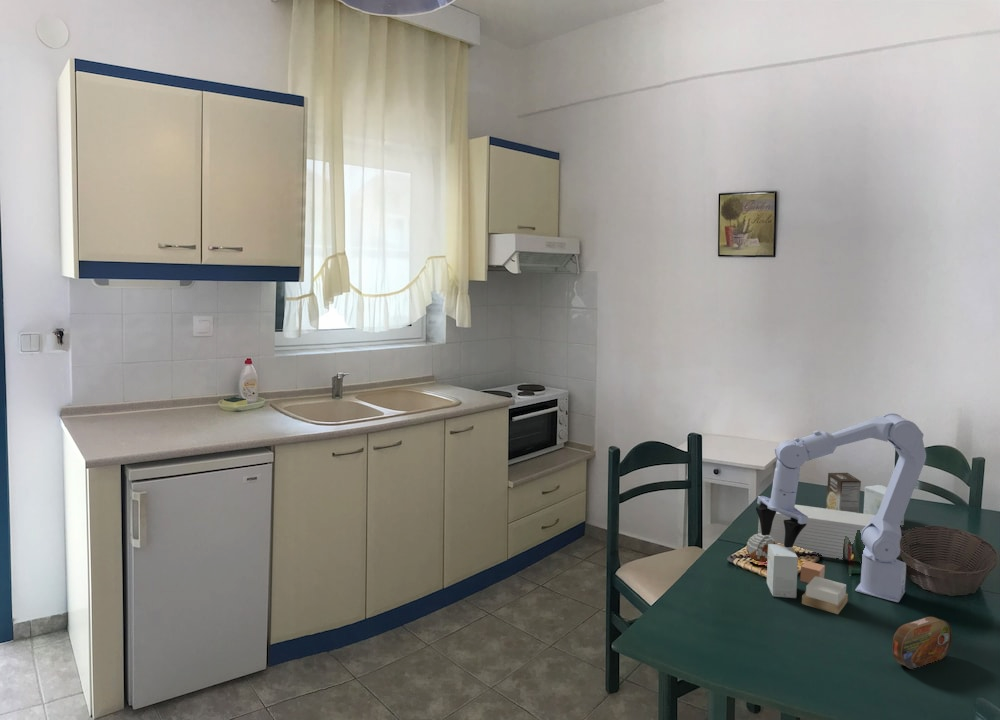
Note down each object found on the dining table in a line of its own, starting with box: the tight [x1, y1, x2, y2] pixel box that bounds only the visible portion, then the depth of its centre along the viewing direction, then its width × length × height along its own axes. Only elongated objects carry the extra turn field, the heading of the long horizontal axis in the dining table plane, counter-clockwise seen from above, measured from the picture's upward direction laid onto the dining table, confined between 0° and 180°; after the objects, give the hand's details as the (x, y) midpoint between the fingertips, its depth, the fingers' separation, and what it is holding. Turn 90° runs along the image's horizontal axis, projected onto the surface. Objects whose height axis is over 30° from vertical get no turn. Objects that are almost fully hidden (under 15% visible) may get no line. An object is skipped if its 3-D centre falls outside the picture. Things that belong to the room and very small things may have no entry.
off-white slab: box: [805, 576, 847, 605], centre depth 162 cm, size 7×7×2 cm
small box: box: [766, 544, 799, 599], centre depth 168 cm, size 8×6×10 cm
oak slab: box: [801, 591, 849, 615], centre depth 162 cm, size 8×8×2 cm
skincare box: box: [862, 484, 905, 526], centre depth 217 cm, size 10×6×10 cm, turn 14°
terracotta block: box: [799, 560, 826, 584], centre depth 175 cm, size 4×4×4 cm
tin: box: [891, 616, 953, 670], centre depth 137 cm, size 15×3×8 cm, turn 114°
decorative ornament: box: [746, 533, 776, 562], centre depth 185 cm, size 8×8×15 cm
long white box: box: [757, 504, 875, 560], centre depth 195 cm, size 32×11×11 cm, turn 64°
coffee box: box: [825, 472, 862, 513], centre depth 212 cm, size 9×6×16 cm
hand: (776, 540), depth 172 cm, fingers open, 7 cm apart
